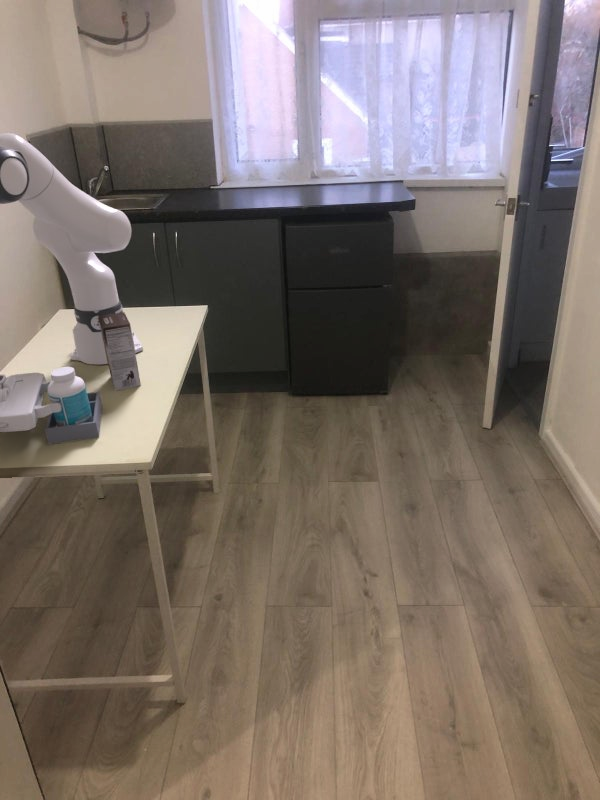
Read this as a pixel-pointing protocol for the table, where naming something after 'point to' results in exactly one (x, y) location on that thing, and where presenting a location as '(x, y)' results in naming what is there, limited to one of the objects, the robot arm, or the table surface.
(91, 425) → the parts tub
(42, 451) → the table surface
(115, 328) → the coffee box
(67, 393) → the pill bottle
